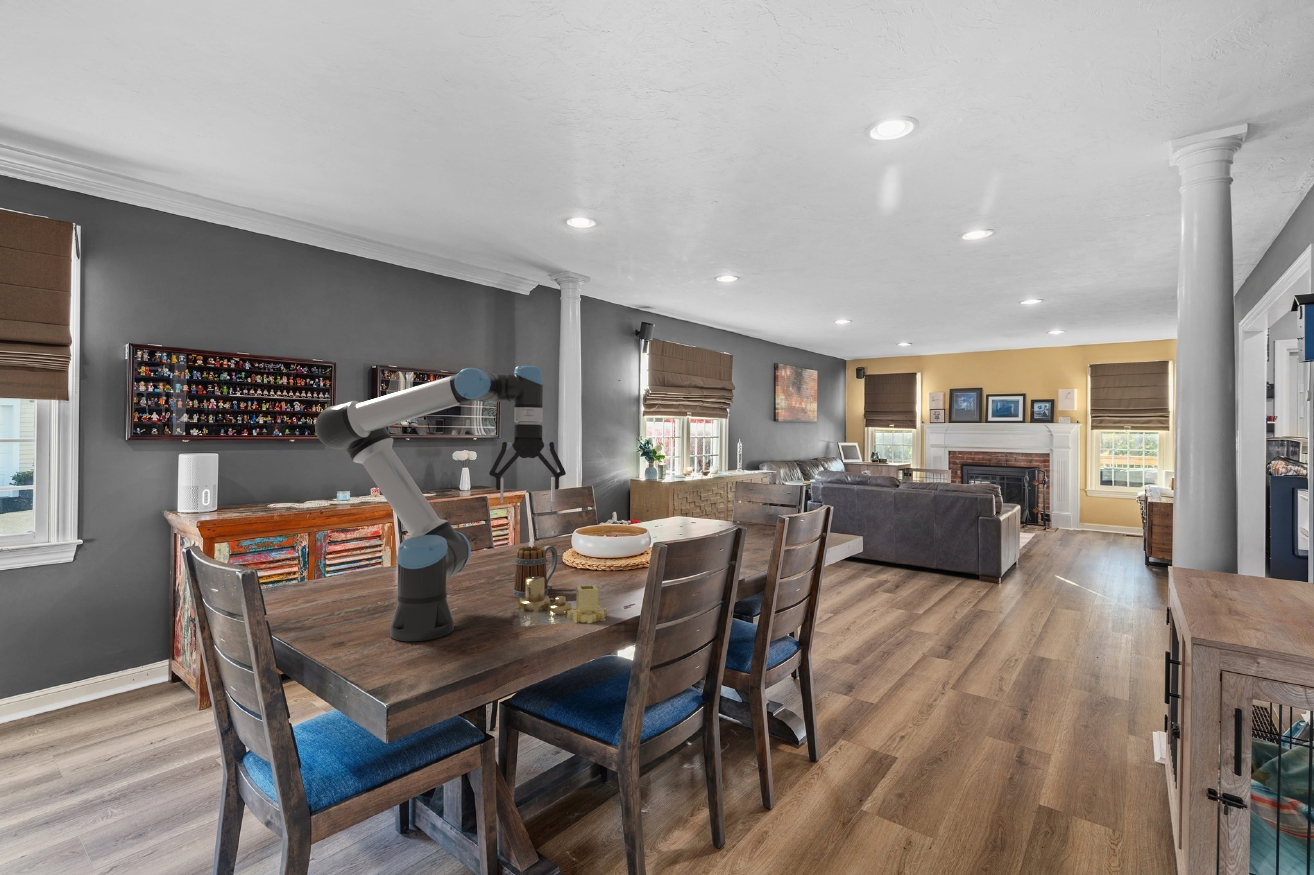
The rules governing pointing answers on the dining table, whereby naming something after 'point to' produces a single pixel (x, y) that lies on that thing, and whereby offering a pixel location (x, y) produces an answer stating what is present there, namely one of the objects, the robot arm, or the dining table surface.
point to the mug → (533, 567)
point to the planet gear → (587, 606)
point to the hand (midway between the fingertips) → (527, 502)
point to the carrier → (542, 605)
